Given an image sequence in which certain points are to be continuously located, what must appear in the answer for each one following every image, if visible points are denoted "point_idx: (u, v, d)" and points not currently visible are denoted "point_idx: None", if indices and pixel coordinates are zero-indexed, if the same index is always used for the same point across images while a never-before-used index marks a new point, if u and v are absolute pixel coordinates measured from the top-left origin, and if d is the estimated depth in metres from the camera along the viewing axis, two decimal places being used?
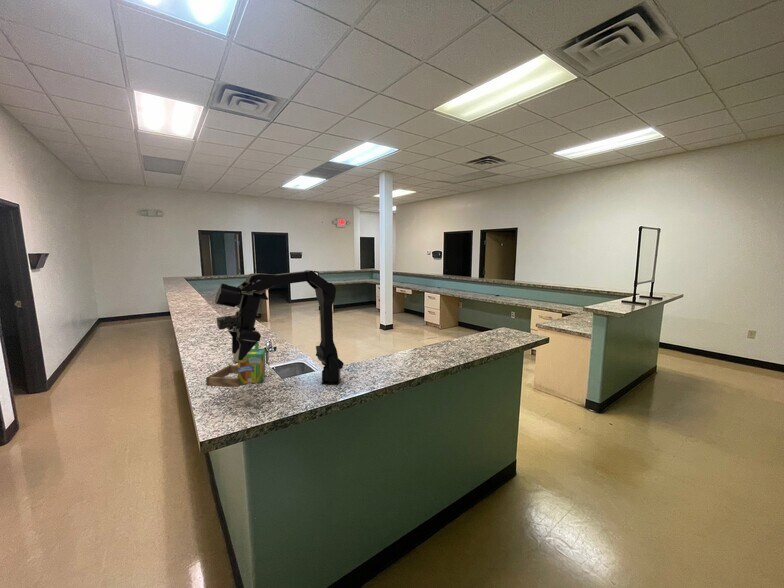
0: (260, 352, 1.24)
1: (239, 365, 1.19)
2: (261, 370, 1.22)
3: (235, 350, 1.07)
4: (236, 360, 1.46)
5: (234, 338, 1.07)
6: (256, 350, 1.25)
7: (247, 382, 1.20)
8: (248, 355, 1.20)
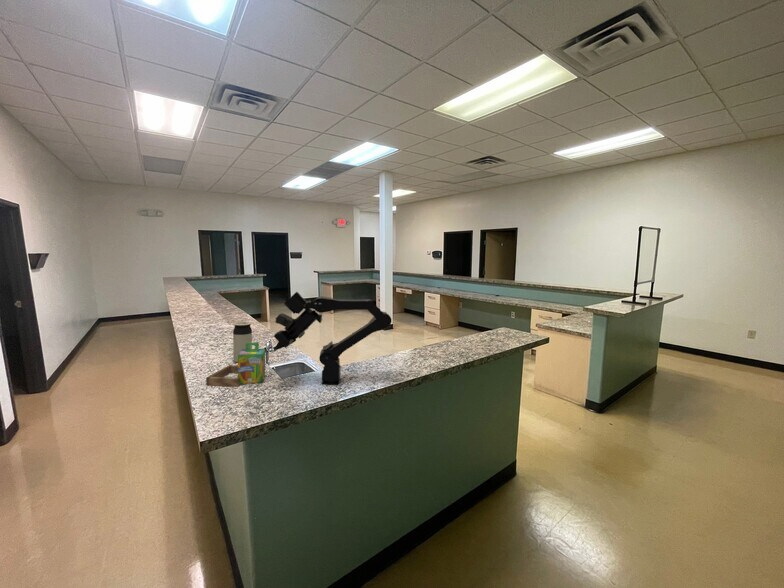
0: (260, 352, 1.24)
1: (239, 365, 1.19)
2: (261, 370, 1.22)
3: None
4: (236, 360, 1.46)
5: None
6: (256, 350, 1.25)
7: (247, 382, 1.20)
8: (248, 355, 1.20)
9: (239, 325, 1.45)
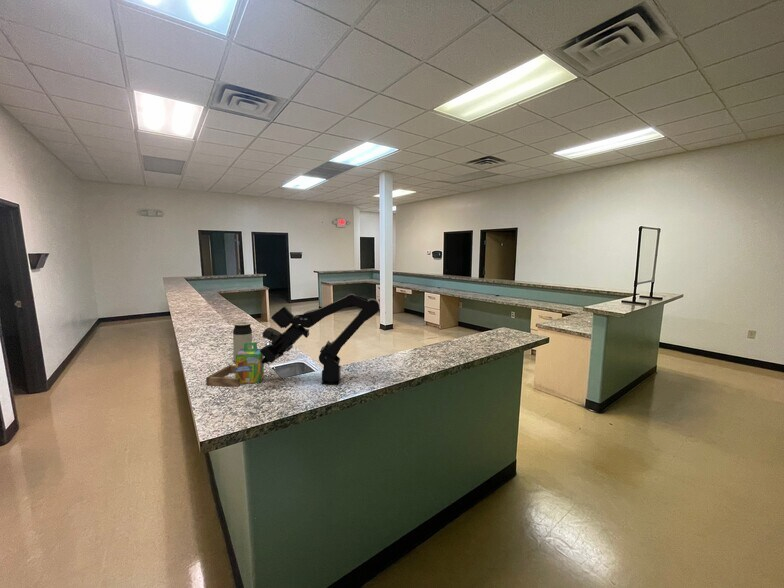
0: (258, 352, 1.23)
1: (237, 365, 1.19)
2: (259, 370, 1.22)
3: None
4: None
5: None
6: (254, 350, 1.25)
7: (245, 382, 1.20)
8: (246, 355, 1.20)
9: (239, 325, 1.45)
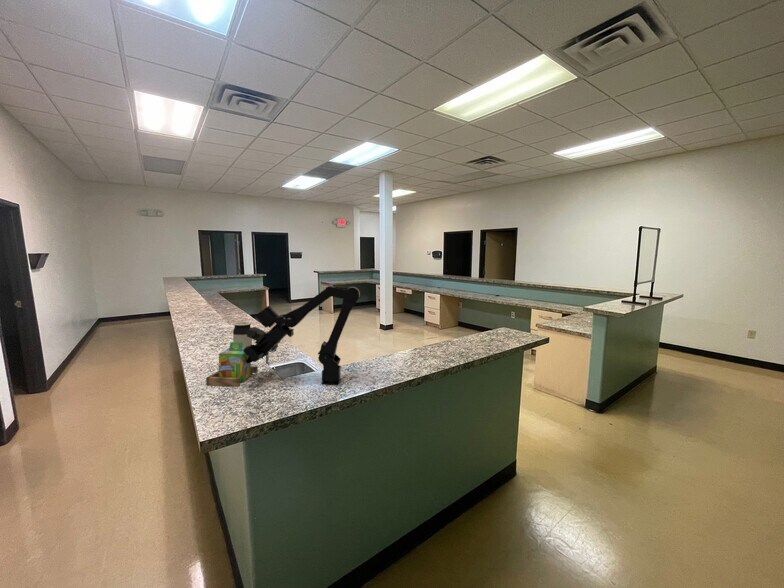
0: (242, 352, 1.23)
1: (220, 364, 1.20)
2: (241, 370, 1.21)
3: None
4: None
5: None
6: (239, 350, 1.25)
7: None
8: (228, 354, 1.20)
9: (239, 325, 1.45)
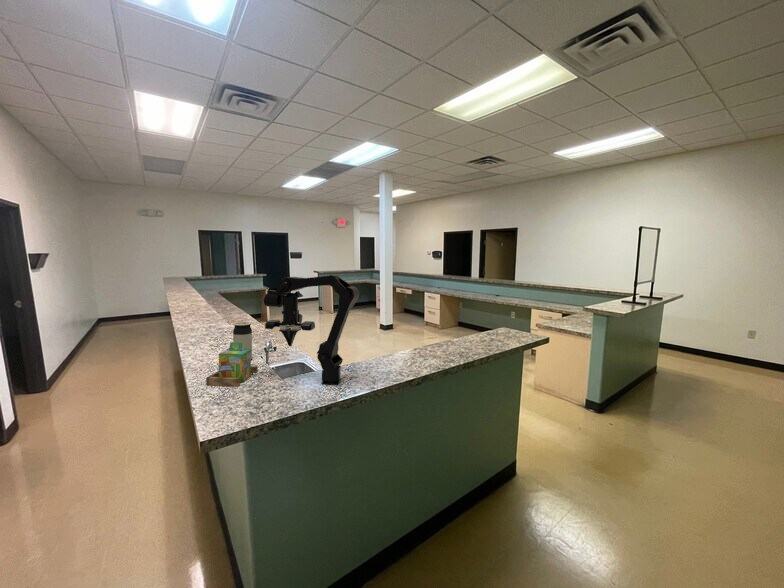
0: (242, 352, 1.23)
1: (220, 364, 1.20)
2: (241, 370, 1.21)
3: None
4: None
5: None
6: (239, 350, 1.25)
7: None
8: (228, 354, 1.20)
9: (239, 325, 1.45)
